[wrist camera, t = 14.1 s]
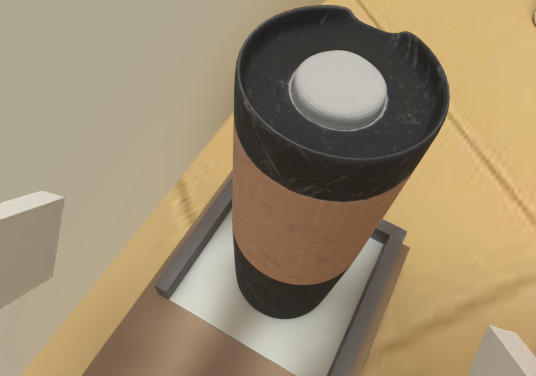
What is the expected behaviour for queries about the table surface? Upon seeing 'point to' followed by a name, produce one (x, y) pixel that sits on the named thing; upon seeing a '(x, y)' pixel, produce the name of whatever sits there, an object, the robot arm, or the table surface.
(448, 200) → the table surface
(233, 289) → the dock
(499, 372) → the robot arm
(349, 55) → the travel mug
